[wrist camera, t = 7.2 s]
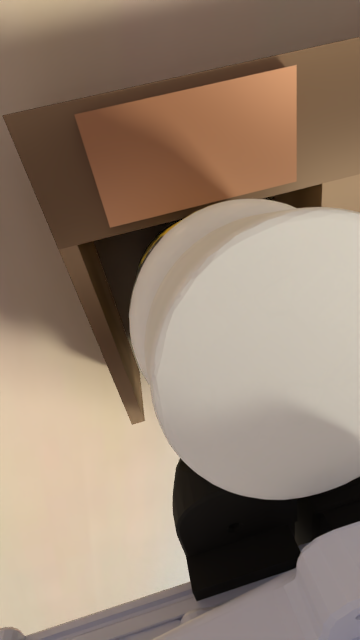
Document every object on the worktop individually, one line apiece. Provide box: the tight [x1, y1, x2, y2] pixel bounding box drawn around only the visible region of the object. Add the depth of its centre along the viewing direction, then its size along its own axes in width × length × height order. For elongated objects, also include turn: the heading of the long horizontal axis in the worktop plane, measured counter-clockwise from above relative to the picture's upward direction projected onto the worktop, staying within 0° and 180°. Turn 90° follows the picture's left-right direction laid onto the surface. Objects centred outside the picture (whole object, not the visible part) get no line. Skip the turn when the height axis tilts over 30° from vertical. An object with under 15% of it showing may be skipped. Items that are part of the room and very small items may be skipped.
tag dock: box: [3, 37, 360, 424], centre depth 11 cm, size 10×17×3 cm, turn 102°
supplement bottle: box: [129, 199, 360, 500], centre depth 8 cm, size 5×5×8 cm
